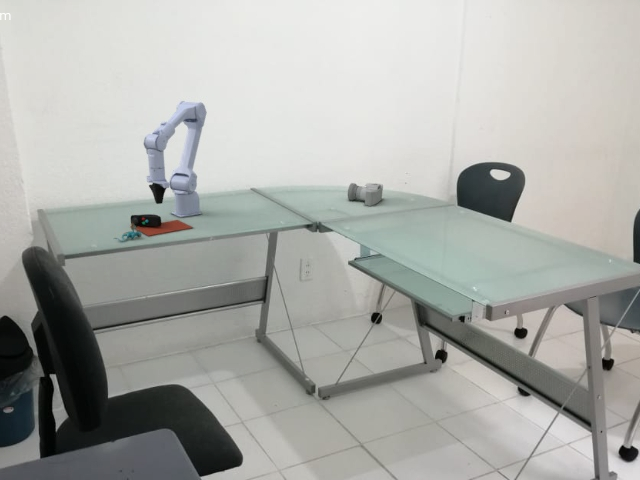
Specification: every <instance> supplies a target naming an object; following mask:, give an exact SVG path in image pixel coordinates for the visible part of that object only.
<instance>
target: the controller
mask: <svg viewBox="0 0 640 480" xmlns="http://www.w3.org/2000/svg"><path fill="white" fill-rule="evenodd" d="M132 222H133V224H134V225H135V227H139V226H140V227H142V226H161V223H162V218H161V216H160V215H158V214H154V213H153V214H151V213H147V214H132V215H130V225H131V224H132Z"/></svg>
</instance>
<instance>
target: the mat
mask: <svg viewBox="0 0 640 480" xmlns="http://www.w3.org/2000/svg"><path fill="white" fill-rule="evenodd" d="M135 227H136V228H135V229H134V230H136V229H138V231H140V232H141V234H144V235H145V236H147V237H152V236H153V237H154V236H159V235H164V234H168V233H174V232H180V231H186V230H190V229H193V228H194V227H193V226H191V225H188V224H187V223H185V222H182V221H181V220H178V219H175V220H169V221H162V222H161V226H142V227H140V226H135Z"/></svg>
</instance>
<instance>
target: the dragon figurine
mask: <svg viewBox="0 0 640 480" xmlns="http://www.w3.org/2000/svg"><path fill="white" fill-rule="evenodd" d="M136 227H137V226H135V225H134V224H133V222H132V224H131V223H130V229H131V230H129V231H125V232H123V233H122V235H121V239H122V240H121V239H120V238H117V237H113V240H114V239H116V240H118V241H119V242H122V243H124V242H125V241H126V240H128V239H131V241H132V240H134V238H136V237H138V238H142V234H143V233H142V232H140V231H138V229H135V228H136ZM135 230H136V231H135ZM124 237H126V240H125V238H124Z"/></svg>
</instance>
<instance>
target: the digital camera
mask: <svg viewBox="0 0 640 480" xmlns="http://www.w3.org/2000/svg"><path fill="white" fill-rule="evenodd" d="M383 189H384V185H383V184H382V183H373V182H372V183H371V182H367V183H366V184H364V186H361V185H357V184H356V183H354V182H351V183H350V184H349V186H348V189H347V200H349V201H355V200H362V201H364V206H366V207H372V206H375V205H376V204H378V203H379V202H381V201H382V199H383V191H384V190H383Z"/></svg>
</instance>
